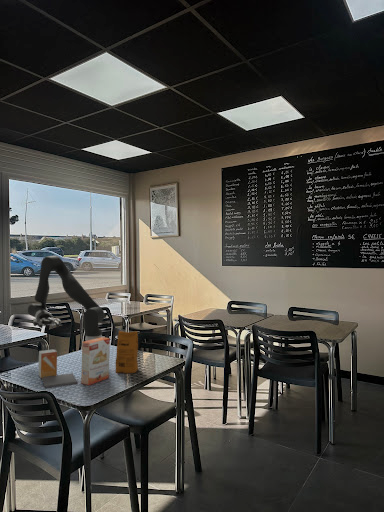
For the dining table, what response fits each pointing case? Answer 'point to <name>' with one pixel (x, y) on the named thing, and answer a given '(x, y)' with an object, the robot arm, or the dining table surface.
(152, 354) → the dining table surface
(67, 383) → the mat
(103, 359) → the cracker box
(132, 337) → the coffee package
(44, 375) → the small box
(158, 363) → the dining table surface
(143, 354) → the dining table surface
